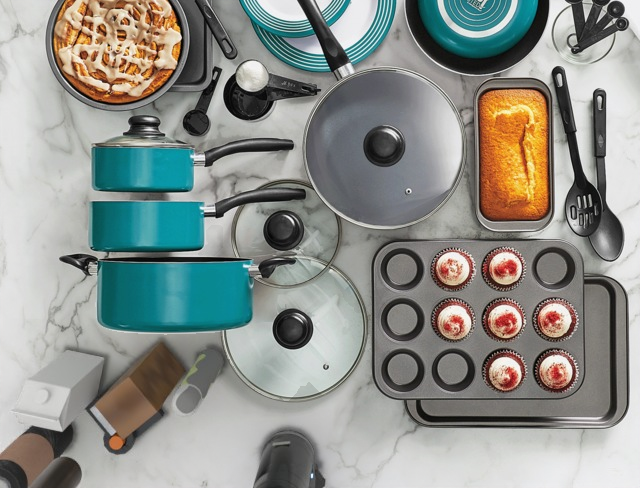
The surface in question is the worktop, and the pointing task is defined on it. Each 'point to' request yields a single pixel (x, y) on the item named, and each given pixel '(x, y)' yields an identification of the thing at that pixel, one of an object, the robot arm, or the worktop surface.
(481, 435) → the worktop surface
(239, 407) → the worktop surface
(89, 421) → the worktop surface
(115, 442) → the button
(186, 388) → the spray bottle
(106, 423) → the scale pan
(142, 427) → the scale
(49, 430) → the travel mug
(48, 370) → the milk carton
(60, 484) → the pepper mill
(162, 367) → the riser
